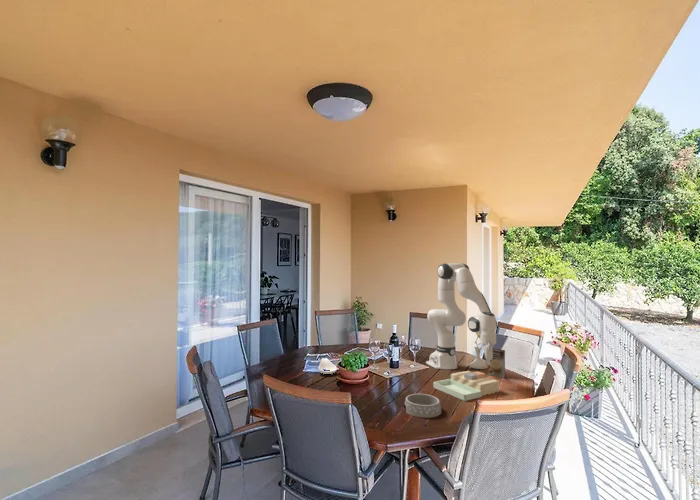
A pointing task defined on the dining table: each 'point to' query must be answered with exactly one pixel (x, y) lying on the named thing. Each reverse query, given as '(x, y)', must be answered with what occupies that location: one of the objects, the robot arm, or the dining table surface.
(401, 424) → the dining table surface
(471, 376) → the slate tile
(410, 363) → the dining table surface
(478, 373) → the terracotta tile
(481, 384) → the bench slab
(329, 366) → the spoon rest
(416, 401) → the dog bowl
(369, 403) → the dining table surface
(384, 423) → the dining table surface
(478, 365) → the flower in vase
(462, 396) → the tray
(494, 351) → the coffee box
